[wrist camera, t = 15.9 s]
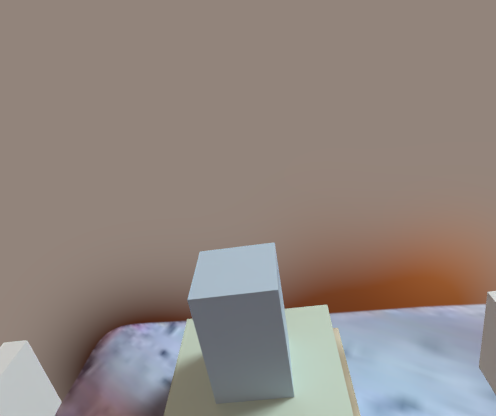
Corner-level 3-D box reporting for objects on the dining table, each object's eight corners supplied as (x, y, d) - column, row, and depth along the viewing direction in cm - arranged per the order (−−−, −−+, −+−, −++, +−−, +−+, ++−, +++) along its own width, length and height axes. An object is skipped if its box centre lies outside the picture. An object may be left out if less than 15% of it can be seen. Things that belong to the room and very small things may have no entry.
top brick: (329, 335, 40) (327, 304, 38) (362, 482, 27) (360, 445, 25) (195, 348, 41) (187, 319, 39) (166, 494, 28) (152, 459, 26)
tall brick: (288, 338, 35) (274, 242, 30) (294, 396, 29) (278, 289, 25) (222, 345, 35) (199, 251, 31) (216, 403, 30) (187, 299, 26)
